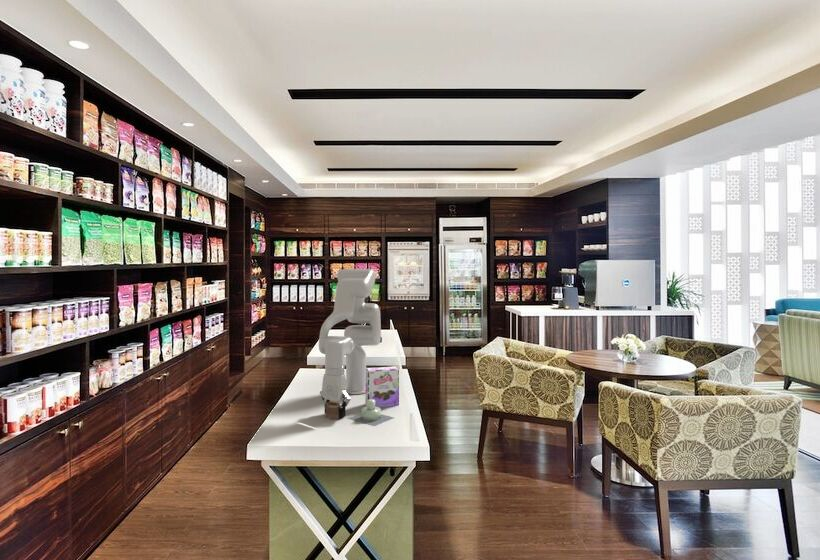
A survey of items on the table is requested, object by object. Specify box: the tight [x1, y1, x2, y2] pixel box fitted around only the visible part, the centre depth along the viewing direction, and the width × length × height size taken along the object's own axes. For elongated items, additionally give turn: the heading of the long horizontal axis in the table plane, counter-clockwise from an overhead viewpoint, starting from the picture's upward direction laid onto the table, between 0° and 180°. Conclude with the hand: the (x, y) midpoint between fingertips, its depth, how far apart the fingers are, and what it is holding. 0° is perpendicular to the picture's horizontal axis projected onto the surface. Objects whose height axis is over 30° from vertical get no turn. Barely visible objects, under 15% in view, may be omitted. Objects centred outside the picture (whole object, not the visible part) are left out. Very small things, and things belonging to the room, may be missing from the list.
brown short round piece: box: [325, 401, 344, 420], centre depth 185 cm, size 7×7×6 cm
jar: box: [360, 399, 382, 421], centre depth 183 cm, size 8×8×7 cm
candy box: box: [364, 366, 400, 408], centre depth 200 cm, size 14×6×16 cm, turn 105°
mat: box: [347, 413, 395, 427], centre depth 183 cm, size 14×12×1 cm
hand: (334, 414), depth 185 cm, fingers closed on brown short round piece, 7 cm apart
